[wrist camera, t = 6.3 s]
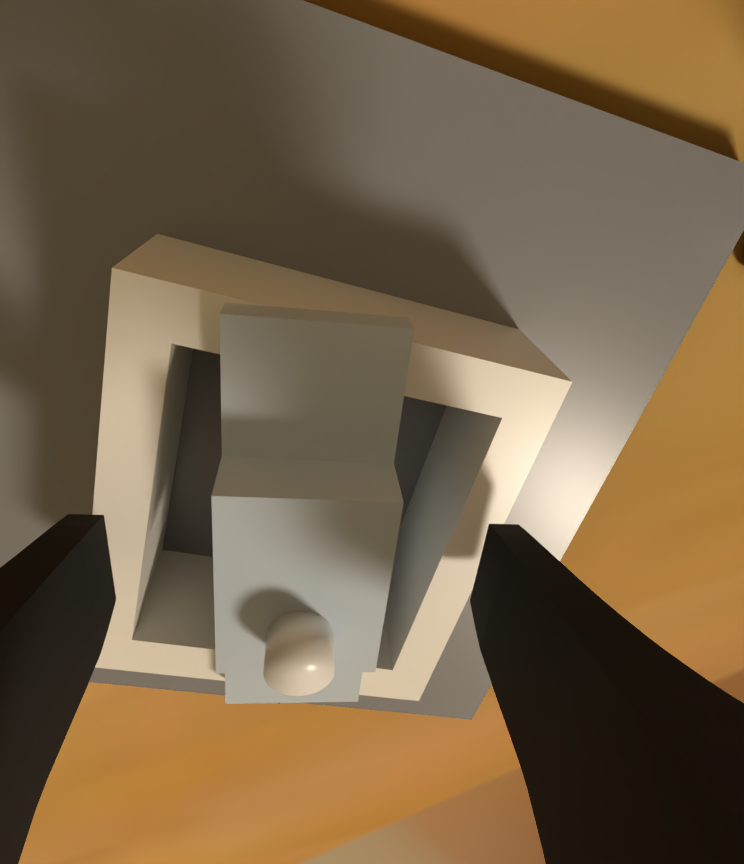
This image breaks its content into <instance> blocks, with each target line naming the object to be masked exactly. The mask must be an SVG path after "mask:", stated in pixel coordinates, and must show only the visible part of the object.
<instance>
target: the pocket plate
mask: <svg viewBox="0 0 744 864" xmlns="http://www.w3.org/2000/svg"><path fill="white" fill-rule="evenodd" d="M743 231H744V163H743V162H740V161H737V160H735V159H732V158H729V157H727V156H724V155H721V154H718V153H716V152H713V151H710V150H708V149H705V148H702V147H699V146H697V145H694V144H691V143H689V142H686V141H683V140H681V139H678V138H675V137H672V136H670V135H667V134H664V133H662V132H659V131H656V130H653V129H651V128H648V127H645V126H643V125H640V124H637V123H634V122H632V121H629V120H626V119H624V118H621V117H618V116H615V115H613V114H610V113H607V112H605V111H602V110H599V109H597V108H594V107H591V106H588V105H586V104H583V103H580V102H578V101H575V100H572V99H569V98H567V97H564V96H561V95H559V94H556V93H553V92H550V91H548V90H545V89H542V88H540V87H537V86H534V85H532V84H529V83H526V82H523V81H521V80H518V79H515V78H513V77H510V76H507V75H504V74H502V73H499V72H496V71H494V70H491V69H488V68H485V67H483V66H480V65H477V64H475V63H472V62H469V61H466V60H464V59H461V58H458V57H456V56H453V55H450V54H448V53H445V52H442V51H439V50H437V49H434V48H431V47H429V46H426V45H423V44H420V43H418V42H415V41H412V40H410V39H407V38H404V37H401V36H399V35H396V34H393V33H391V32H388V31H385V30H382V29H380V28H377V27H374V26H372V25H369V24H366V23H364V22H361V21H358V20H355V19H353V18H350V17H347V16H345V15H342V14H339V13H336V12H334V11H331V10H328V9H326V8H323V7H320V6H317V5H315V4H312V3H309V2H307V1H304V0H0V567H2V566H3V565H4V564H5V563H7V562H8V561H9V560H11V559H12V558H13V557H14V556H16V555H17V554H18V553H19V552H21V551H22V550H23V549H24V548H26V547H27V546H28V545H29V544H31V543H32V542H33V541H34V540H36V539H37V538H38V537H39V536H41V535H42V534H43V533H44V532H46V531H47V530H48V529H49V528H51V527H52V526H53V525H54V524H56V523H57V522H58V521H60V520H61V519H62V518H64V517H65V516H66V515H68V514H89V515H104V519H105V526H106V533H107V539H108V546H109V553H110V560H111V567H112V574H113V581H114V587H115V594H116V602H115V606H114V610H113V613H112V617H111V621H110V624H109V628H108V631H107V635H106V638H105V641H104V645H103V648H102V651H101V654H100V656H99V659H98V661H97V664H96V666H95V669H94V671H93V673H92V676H91V678H90V680H89V682H95V683H105V684H115V685H125V686H136V687H146V688H156V689H166V690H176V691H186V692H197V693H207V694H217V695H225V673H216V655H215V616H214V577H213V539H212V500H211V496H212V492H213V488H214V484H215V480H216V476H217V472H218V468H219V465H220V461H221V457H222V435H221V368H220V312H221V310H222V308H223V305H224V303H236V304H248V305H261V306H273V307H286V308H298V309H311V310H323V311H336V312H348V313H360V314H373V315H385V316H398V317H408V318H409V320H410V322H411V324H412V326H413V328H414V333H413V340H412V346H411V353H410V360H409V366H408V373H407V379H406V386H405V393H404V399H403V406H402V413H401V419H400V426H399V433H398V439H397V446H396V452H395V459H394V466H395V470H396V474H397V478H398V482H399V486H400V490H401V494H402V498H403V502H404V504H403V510H402V516H401V522H400V528H399V534H398V540H397V546H396V552H395V558H394V564H393V570H392V576H391V582H390V588H389V594H388V600H387V606H386V612H385V618H384V624H383V630H382V636H381V642H380V648H379V654H378V660H377V666H376V672H362V678H361V685H360V691H359V698H358V702H307V703H308V704H318V705H329V706H339V707H349V708H359V709H369V710H379V711H390V712H400V713H410V714H420V715H430V716H440V717H451V718H461V719H471V720H472V718H473V716H474V714H475V713H476V711H477V709H478V707H479V705H480V704H481V702H482V700H483V698H484V697H485V695H486V693H487V691H488V689H489V688H490V686H491V684H492V683H491V680H490V677H489V674H488V671H487V668H486V665H485V663H484V660H483V657H482V654H481V651H480V647H479V642H478V638H477V634H476V629H475V624H474V619H473V614H472V609H471V604H470V598H471V594H472V590H473V586H474V582H475V578H476V574H477V570H478V566H479V562H480V558H481V554H482V550H483V546H484V542H485V538H486V534H487V530H488V526H489V524H519V525H520V526H521V527H522V528H523V529H525V530H526V531H527V532H528V533H529V534H530V535H531V536H533V537H534V538H535V539H536V540H537V541H538V542H539V543H540V544H541V545H542V546H543V547H545V548H546V549H547V550H548V551H549V552H550V553H551V554H552V555H553V556H554V557H555V558H556V559H558V560H559V561H560V560H561V558H562V556H563V554H564V553H565V551H566V549H567V547H568V545H569V544H570V542H571V540H572V538H573V536H574V535H575V533H576V531H577V529H578V527H579V526H580V524H581V522H582V520H583V518H584V517H585V515H586V513H587V511H588V509H589V508H590V506H591V504H592V502H593V500H594V499H595V497H596V495H597V493H598V491H599V490H600V488H601V486H602V484H603V482H604V481H605V479H606V477H607V475H608V473H609V472H610V470H611V468H612V466H613V464H614V463H615V461H616V459H617V457H618V455H619V454H620V452H621V450H622V448H623V446H624V445H625V443H626V441H627V439H628V437H629V436H630V434H631V432H632V430H633V428H634V427H635V425H636V423H637V421H638V419H639V418H640V416H641V414H642V412H643V410H644V409H645V407H646V405H647V403H648V401H649V400H650V398H651V396H652V394H653V393H654V391H655V389H656V387H657V385H658V384H659V382H660V380H661V378H662V376H663V375H664V373H665V371H666V369H667V367H668V366H669V364H670V362H671V360H672V358H673V357H674V355H675V353H676V351H677V349H678V348H679V346H680V344H681V342H682V340H683V339H684V337H685V335H686V333H687V331H688V330H689V328H690V326H691V324H692V322H693V321H694V319H695V317H696V315H697V313H698V312H699V310H700V308H701V306H702V304H703V303H704V301H705V299H706V297H707V295H708V294H709V292H710V290H711V288H712V286H713V285H714V283H715V281H716V279H717V277H718V276H719V274H720V272H721V270H722V268H723V267H724V265H725V263H726V261H727V259H728V258H729V256H730V254H731V252H732V250H733V249H734V247H735V245H736V243H737V241H738V240H739V238H740V236H741V234H742V232H743Z"/></svg>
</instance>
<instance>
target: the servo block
mask: <svg viewBox="0 0 744 864" xmlns="http://www.w3.org/2000/svg"><path fill="white" fill-rule="evenodd" d="M413 333H414V328H413V326H412V324H411V322H410V320H409V318H408V317H398V316H385V315H373V314H360V313H348V312H336V311H323V310H311V309H298V308H286V307H273V306H261V305H248V304H236V303H224V305H223V308H222V310H221V312H220V368H221V435H222V457H221V461H220V465H219V468H218V472H217V476H216V480H215V484H214V488H213V492H212V496H211V500H212V539H213V577H214V616H215V655H216V673H225V704H239V703H307V702H358V698H359V691H360V685H361V678H362V672H376V666H377V660H378V654H379V648H380V642H381V636H382V630H383V624H384V618H385V612H386V606H387V600H388V594H389V588H390V582H391V576H392V570H393V564H394V558H395V552H396V546H397V540H398V534H399V528H400V522H401V516H402V510H403V504H404V502H403V498H402V494H401V490H400V486H399V482H398V478H397V474H396V470H395V466H394V459H395V452H396V446H397V439H398V433H399V426H400V419H401V413H402V406H403V399H404V393H405V386H406V379H407V373H408V366H409V360H410V353H411V346H412V340H413Z"/></svg>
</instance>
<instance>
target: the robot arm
mask: <svg viewBox="0 0 744 864" xmlns="http://www.w3.org/2000/svg"><path fill="white" fill-rule="evenodd" d="M115 602H116V594H115V587H114V581H113V574H112V567H111V560H110V553H109V546H108V539H107V533H106V526H105V519H104V515H89V514H68V515H66V516H65V517H64V518H62V519H61V520H60V521H58V522H57V523H56V524H54V525H53V526H52V527H51V528H49V529H48V530H47V531H46V532H44V533H43V534H42V535H41V536H39V537H38V538H37V539H36V540H34V541H33V542H32V543H31V544H29V545H28V546H27V547H26V548H24V549H23V550H22V551H21V552H19V553H18V554H17V555H16V556H14V557H13V558H12V559H11V560H9V561H8V562H7V563H5V564H4V565H3V566H2V567H0V864H18V862H19V859H20V856H21V853H22V850H23V847H24V844H25V841H26V838H27V835H28V831H29V828H30V825H31V822H32V819H33V816H34V813H35V810H36V807H37V804H38V802H39V799H40V797H41V794H42V791H43V789H44V786H45V784H46V781H47V778H48V776H49V774H50V771H51V769H52V767H53V764H54V762H55V760H56V757H57V755H58V753H59V750H60V748H61V746H62V743H63V741H64V739H65V736H66V734H67V732H68V729H69V727H70V725H71V722H72V720H73V718H74V716H75V713H76V711H77V709H78V706H79V704H80V702H81V699H82V697H83V695H84V692H85V690H86V687H87V685H88V683H89V680H90V678H91V676H92V673H93V671H94V669H95V666H96V664H97V661H98V659H99V656H100V654H101V651H102V648H103V645H104V641H105V638H106V635H107V631H108V628H109V624H110V621H111V617H112V613H113V610H114V606H115ZM470 604H471V609H472V614H473V619H474V624H475V629H476V634H477V638H478V642H479V647H480V651H481V654H482V657H483V660H484V663H485V665H486V668H487V671H488V674H489V677H490V680H491V683H492V686H493V689H494V692H495V694H496V697H497V700H498V703H499V706H500V709H501V711H502V714H503V717H504V720H505V723H506V726H507V728H508V731H509V734H510V737H511V740H512V743H513V745H514V748H515V751H516V754H517V757H518V760H519V763H520V766H521V769H522V772H523V775H524V779H525V782H526V785H527V789H528V793H529V797H530V801H531V805H532V808H533V813H534V817H535V820H536V825H537V828H538V833H539V837H540V841H541V845H542V848H543V853H544V858H545V862H546V864H744V703H742V702H741V701H739V700H737V699H736V698H734V697H732V696H731V695H729V694H728V693H726V692H724V691H723V690H721V689H720V688H719V687H717V686H716V685H714V684H712V683H711V682H709V681H708V680H706V679H705V678H704V677H702V676H701V675H699V674H698V673H696V672H695V671H694V670H692V669H691V668H689V667H688V666H687V665H685V664H684V663H682V662H681V661H679V660H678V659H677V658H675V657H674V656H672V655H671V654H670V653H668V652H667V651H665V650H664V649H663V648H661V647H660V646H659V645H657V644H656V643H655V642H653V641H652V640H651V639H650V638H648V637H647V636H646V635H645V634H643V633H642V632H641V631H640V630H638V629H637V628H636V627H635V626H633V625H632V624H631V623H630V622H628V621H627V620H626V619H625V618H623V617H622V616H621V615H620V614H618V613H617V612H616V611H615V610H614V609H613V608H611V607H610V606H609V605H608V604H607V603H606V602H604V601H603V600H602V599H601V598H600V597H599V596H597V595H596V594H595V593H594V592H593V591H592V590H591V589H589V588H588V587H587V586H586V585H585V584H584V583H583V582H582V581H580V580H579V579H578V578H577V577H576V576H575V575H574V574H573V573H572V572H571V571H569V570H568V569H567V568H566V567H565V566H564V565H563V564H562V563H561V562H560V561H559V560H558V559H556V558H555V557H554V556H553V555H552V554H551V553H550V552H549V551H548V550H547V549H546V548H545V547H543V546H542V545H541V544H540V543H539V542H538V541H537V540H536V539H535V538H534V537H533V536H531V535H530V534H529V533H528V532H527V531H526V530H525V529H523V528H522V527H521V526H520V525H519V524H489V526H488V530H487V534H486V538H485V542H484V546H483V550H482V554H481V558H480V562H479V566H478V570H477V574H476V578H475V582H474V586H473V590H472V594H471V598H470Z"/></svg>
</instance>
